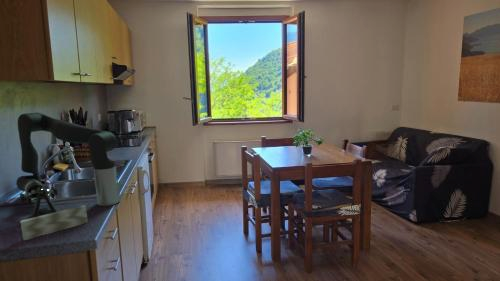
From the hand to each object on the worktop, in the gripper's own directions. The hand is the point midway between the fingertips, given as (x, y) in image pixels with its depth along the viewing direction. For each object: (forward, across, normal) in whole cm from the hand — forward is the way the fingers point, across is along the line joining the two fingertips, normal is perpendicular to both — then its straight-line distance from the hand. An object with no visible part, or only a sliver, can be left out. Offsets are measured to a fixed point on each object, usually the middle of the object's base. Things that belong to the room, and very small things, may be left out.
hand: (41, 198), depth 150 cm
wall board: (+18, 0, +7) cm, 19 cm away
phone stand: (+3, 0, +7) cm, 7 cm away
